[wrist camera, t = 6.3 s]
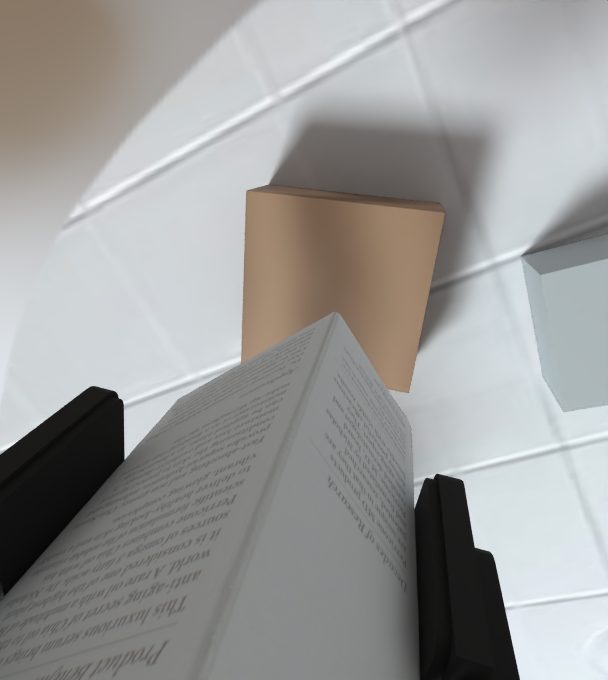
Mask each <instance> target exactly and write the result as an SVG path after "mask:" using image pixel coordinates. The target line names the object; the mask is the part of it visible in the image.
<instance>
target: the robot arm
mask: <svg viewBox="0 0 608 680" xmlns="http://www.w3.org/2000/svg"><path fill="white" fill-rule="evenodd" d="M123 461H124V404H123V401H122V400H121V399H119V398H118V394H117V393H116V392H115V391H111V390H107V389H104V388H100V387H96V386H91V387H89V388H88V389H86V390H85V391H84V392H82V393H81V394H80V395H78V396H77V397H76V398H74V399H73V400H72V401H70V402H69V403H68V404H67V405H65V406H64V407H63V408H61V409H60V410H59V411H57V412H56V413H55V414H53V415H52V416H51V417H49V418H48V419H47V420H45V421H44V422H43V423H42V424H40V425H39V426H38V427H36V428H35V429H34V430H32V431H31V432H30V433H28V434H27V435H26V436H24V437H23V438H22V439H20V440H19V441H18V442H16V443H15V444H14V445H13V446H11V447H10V448H9V449H7V450H6V451H5V452H3V453H2V454H1V455H0V601H1V600H2V599H3V598H4V596H5V595H6V594H7V593H8V592H9V591H10V590H11V589H12V588H13V586H14V585H15V584H16V583H17V582H18V581H19V580H20V578H21V577H22V576H23V575H24V574H25V573H26V572H27V571H28V569H29V568H30V567H31V566H32V565H33V564H34V563H35V561H36V560H37V559H38V558H39V557H40V556H41V555H42V553H43V552H44V551H45V550H46V549H47V548H48V547H49V546H50V544H51V543H52V542H53V541H54V540H55V539H56V538H57V537H58V536H59V534H60V533H61V532H62V531H63V530H64V529H65V528H66V527H67V525H68V524H69V523H70V522H71V521H72V519H73V518H74V517H75V516H76V515H77V514H78V513H79V512H80V510H81V509H82V508H83V507H84V506H85V505H86V504H87V503H88V501H89V500H90V499H91V498H92V497H93V496H94V495H95V493H96V492H97V491H98V490H99V489H100V488H101V486H102V485H103V484H104V483H105V482H106V481H107V479H108V478H109V477H110V476H111V475H112V474H113V473H114V471H115V470H116V469H117V468H118V467H119V466H120V465H121V464H122V463H123ZM414 511H415V541H416V566H417V595H418V620H419V650H420V680H520V678H519V673H518V669H517V664H516V659H515V654H514V650H513V645H512V640H511V635H510V631H509V626H508V621H507V616H506V612H505V607H504V602H503V597H502V593H501V588H500V583H499V579H498V574H497V569H496V564H495V561H494V557H493V555H492V554H491V552H489V551H485V550H481V549H478V548H475V547H474V541H473V535H472V529H471V523H470V517H469V511H468V505H467V499H466V493H465V487H464V483H463V481H462V480H460V479H456V478H452V477H448V476H444V475H440V474H436V475H435V477H434V479H429V478H426V479H425V480H424V483H423V486H422V489H421V492H420V495H419V498H418V501H417V504H416V507H415V510H414Z"/></svg>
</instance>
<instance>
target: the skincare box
mask: <svg viewBox="0 0 608 680" xmlns="http://www.w3.org/2000/svg"><path fill="white" fill-rule="evenodd" d="M0 680H420V650H419V620H418V595H417V566H416V541H415V511H414V484H413V460H412V434H411V426H410V424H409V422H408V420H407V418H406V416H405V415H404V413H403V412H402V411H401V409H400V408H399V406H398V405H397V403H396V402H395V400H394V399H393V397H392V396H391V394H390V393H389V391H388V389H387V388H386V386H385V385H384V383H383V382H382V380H381V378H380V377H379V375H378V374H377V372H376V370H375V369H374V367H373V365H372V364H371V362H370V361H369V359H368V357H367V356H366V354H365V353H364V351H363V349H362V348H361V346H360V345H359V343H358V342H357V340H356V338H355V337H354V335H353V334H352V332H351V330H350V329H349V327H348V326H347V324H346V323H345V321H344V320H343V318H342V317H341V315H340V314H339V313H338V312H332V313H331V314H329V315H327V316H326V317H324V318H322V319H320V320H318V321H317V322H315V323H313V324H311V325H309V326H308V327H306V328H304V329H302V330H301V331H299V332H297V333H295V334H293V335H292V336H290V337H288V338H286V339H284V340H283V341H281V342H279V343H277V344H275V345H274V346H272V347H270V348H268V349H267V350H265V351H263V352H261V353H259V354H257V355H256V356H254V357H252V358H250V359H249V360H247V361H245V362H244V363H242V364H240V365H238V366H236V367H234V368H233V369H231V370H229V371H227V372H225V373H224V374H222V375H220V376H219V377H217V378H215V379H213V380H212V381H210V382H208V383H206V384H204V385H203V386H201V387H199V388H197V389H195V390H194V391H192V392H190V393H189V394H187V395H185V396H183V397H181V398H180V399H178V400H177V401H176V402H175V404H174V405H173V406H172V407H171V408H170V409H169V411H168V412H167V413H166V414H165V415H164V416H163V417H162V419H161V420H160V421H159V422H158V423H157V424H156V425H155V426H154V427H153V428H152V430H151V431H150V432H149V433H148V434H147V435H146V436H145V438H144V439H143V440H142V441H141V442H140V443H139V444H138V445H137V446H136V448H135V449H134V450H133V451H132V452H131V453H130V455H129V456H128V457H127V458H126V459H125V460H124V461H123V463H122V464H121V465H120V466H119V467H118V468H117V469H116V470H115V471H114V473H113V474H112V475H111V476H110V477H109V478H108V479H107V481H106V482H105V483H104V484H103V485H102V486H101V488H100V489H99V490H98V491H97V492H96V493H95V495H94V496H93V497H92V498H91V499H90V500H89V501H88V503H87V504H86V505H85V506H84V507H83V508H82V509H81V510H80V512H79V513H78V514H77V515H76V516H75V517H74V518H73V519H72V521H71V522H70V523H69V524H68V525H67V527H66V528H65V529H64V530H63V531H62V532H61V533H60V534H59V536H58V537H57V538H56V539H55V540H54V541H53V542H52V543H51V544H50V546H49V547H48V548H47V549H46V550H45V551H44V552H43V553H42V555H41V556H40V557H39V558H38V559H37V560H36V561H35V563H34V564H33V565H32V566H31V567H30V568H29V569H28V571H27V572H26V573H25V574H24V575H23V576H22V577H21V578H20V580H19V581H18V582H17V583H16V584H15V585H14V586H13V588H12V589H11V590H10V591H9V592H8V593H7V594H6V595H5V596H4V598H3V599H2V600H1V601H0Z"/></svg>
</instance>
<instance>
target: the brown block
mask: <svg viewBox="0 0 608 680" xmlns="http://www.w3.org/2000/svg"><path fill="white" fill-rule="evenodd" d="M444 217H445V211H444V210H443V208H442V206H441V204H440V203H432V202H423V201H414V200H404V199H395V198H386V197H377V196H367V195H358V194H349V193H340V192H330V191H321V190H312V189H303V188H294V187H284V186H275V185H266V186H262V187H258V188H255V189H251V190H247V191H246V220H245V254H244V287H243V320H242V353H241V364H242V363H244V362H245V361H247V360H249V359H250V358H252V357H254V356H256V355H257V354H259V353H261V352H263V351H265V350H267V349H268V348H270V347H272V346H274V345H275V344H277V343H279V342H281V341H283V340H284V339H286V338H288V337H290V336H292V335H293V334H295V333H297V332H299V331H301V330H302V329H304V328H306V327H308V326H309V325H311V324H313V323H315V322H317V321H318V320H320V319H322V318H324V317H326V316H327V315H329V314H331V313H332V312H338V313H339V314H340V315H341V317H342V318H343V320H344V321H345V323H346V324H347V326H348V327H349V329H350V330H351V332H352V334H353V335H354V337H355V338H356V340H357V342H358V343H359V345H360V346H361V348H362V349H363V351H364V353H365V354H366V356H367V357H368V359H369V361H370V362H371V364H372V365H373V367H374V369H375V370H376V372H377V374H378V375H379V377H380V378H381V380H382V382H383V383H384V385H385V386H386V388H387V389H389V390H395V391H400V392H406V393H409V390H410V385H411V380H412V375H413V370H414V365H415V360H416V355H417V350H418V345H419V340H420V335H421V330H422V326H423V321H424V316H425V311H426V306H427V301H428V296H429V291H430V286H431V281H432V276H433V271H434V266H435V261H436V256H437V251H438V246H439V241H440V236H441V232H442V227H443V222H444Z"/></svg>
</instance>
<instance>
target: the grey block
mask: <svg viewBox="0 0 608 680" xmlns="http://www.w3.org/2000/svg"><path fill="white" fill-rule="evenodd" d="M521 260H522V265H523V271H524V276H525V282H526V287H527V293H528V299H529V304H530V310H531V315H532V321H533V326H534V332H535V337H536V343H537V349H538V354H539V360H540V365H541V371H542V376H543V378H544V380H545V382H546V383H547V385H548V387H549V388H550V390H551V392H552V394H553V395H554V397H555V399H556V400H557V402H558V404H559V405H560V407H561V409H562V411H563V412H567V411H573V410H579V409H585V408H592V407H598V406H604V405H608V234H605V235H601V236H597V237H593V238H589V239H585V240H581V241H578V242H574V243H570V244H566V245H562V246H558V247H554V248H551V249H547V250H543V251H539V252H535V253H531V254H528V255H524V256H521Z"/></svg>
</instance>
